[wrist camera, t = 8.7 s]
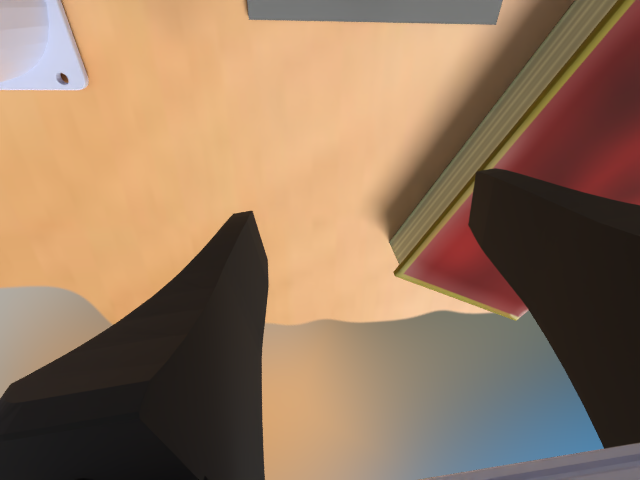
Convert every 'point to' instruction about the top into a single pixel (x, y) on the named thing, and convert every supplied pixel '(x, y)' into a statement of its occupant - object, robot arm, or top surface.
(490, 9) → the mat
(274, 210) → the top surface
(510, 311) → the hardcover book
